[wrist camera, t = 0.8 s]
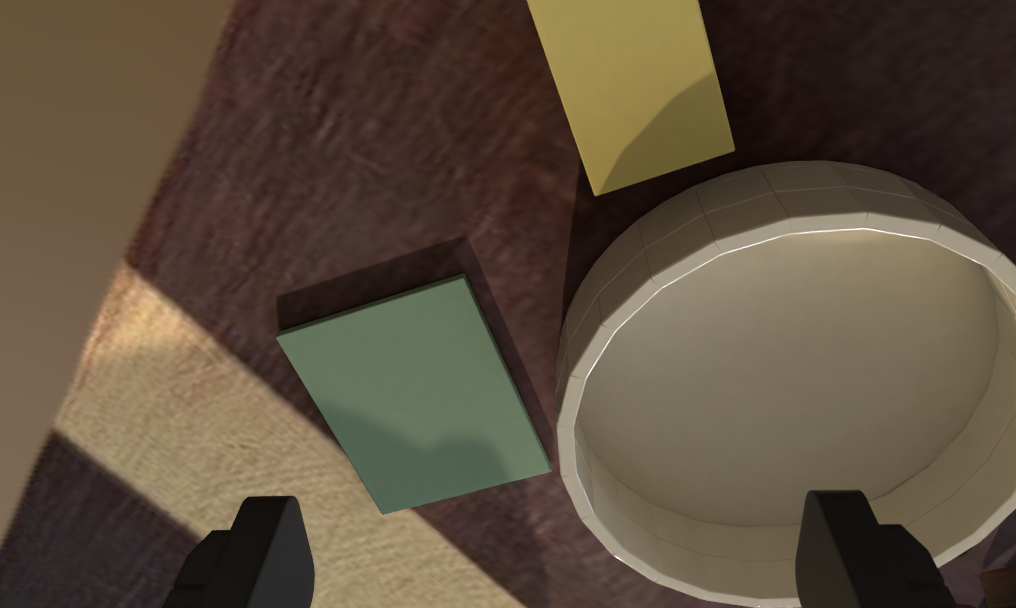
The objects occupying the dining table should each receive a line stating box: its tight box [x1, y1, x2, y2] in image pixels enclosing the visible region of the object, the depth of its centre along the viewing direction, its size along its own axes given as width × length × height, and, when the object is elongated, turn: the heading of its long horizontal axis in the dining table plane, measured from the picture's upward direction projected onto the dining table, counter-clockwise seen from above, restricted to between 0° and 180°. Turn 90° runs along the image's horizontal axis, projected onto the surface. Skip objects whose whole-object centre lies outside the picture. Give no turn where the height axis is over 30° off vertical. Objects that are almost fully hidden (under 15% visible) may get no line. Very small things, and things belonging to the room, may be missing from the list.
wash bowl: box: [555, 161, 1016, 608], centre depth 31 cm, size 17×17×4 cm
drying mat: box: [276, 273, 551, 515], centre depth 34 cm, size 10×8×1 cm
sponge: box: [527, 0, 735, 196], centre depth 25 cm, size 7×4×3 cm, turn 21°
